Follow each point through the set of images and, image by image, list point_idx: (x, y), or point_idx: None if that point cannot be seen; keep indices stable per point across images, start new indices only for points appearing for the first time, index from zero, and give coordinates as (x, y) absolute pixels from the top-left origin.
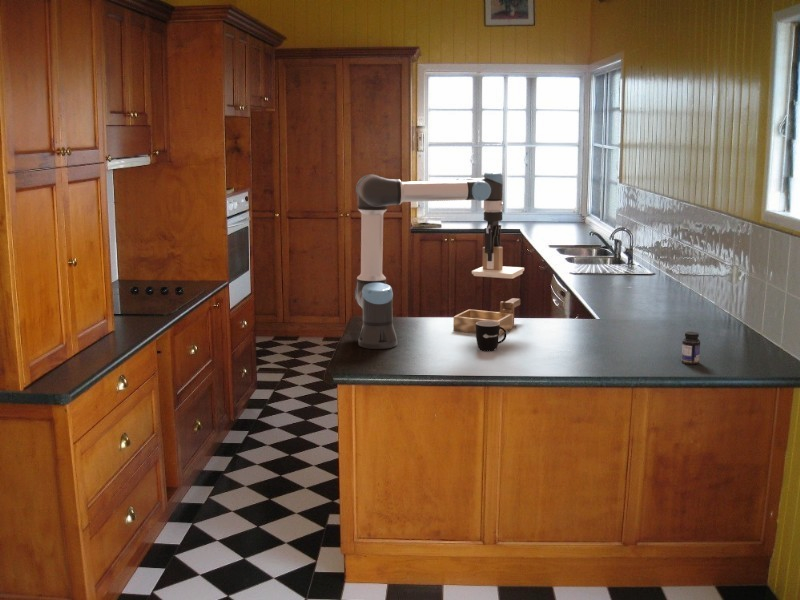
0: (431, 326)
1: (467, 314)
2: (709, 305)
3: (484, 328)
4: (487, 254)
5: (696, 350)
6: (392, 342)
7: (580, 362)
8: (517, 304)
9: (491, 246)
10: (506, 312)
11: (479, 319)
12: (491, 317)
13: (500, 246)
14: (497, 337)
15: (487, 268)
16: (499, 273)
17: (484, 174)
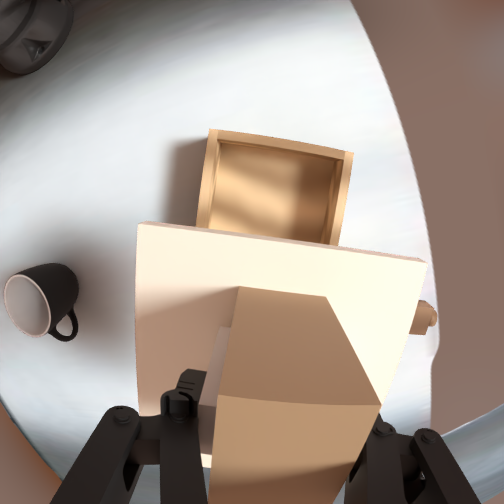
0: (254, 56)
1: (317, 155)
2: (490, 498)
3: (8, 300)
4: (201, 398)
5: None
6: (12, 71)
7: (77, 441)
8: None
9: (129, 497)
10: None
11: None
12: (324, 242)
13: (416, 481)
14: (44, 320)
15: (218, 331)
16: (140, 404)
17: None
